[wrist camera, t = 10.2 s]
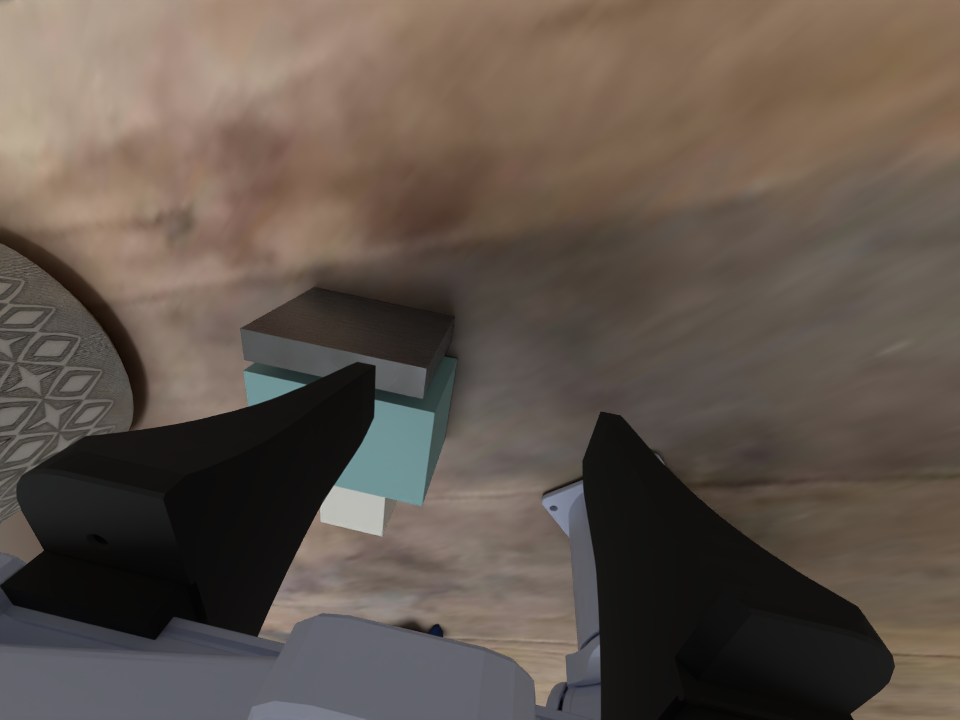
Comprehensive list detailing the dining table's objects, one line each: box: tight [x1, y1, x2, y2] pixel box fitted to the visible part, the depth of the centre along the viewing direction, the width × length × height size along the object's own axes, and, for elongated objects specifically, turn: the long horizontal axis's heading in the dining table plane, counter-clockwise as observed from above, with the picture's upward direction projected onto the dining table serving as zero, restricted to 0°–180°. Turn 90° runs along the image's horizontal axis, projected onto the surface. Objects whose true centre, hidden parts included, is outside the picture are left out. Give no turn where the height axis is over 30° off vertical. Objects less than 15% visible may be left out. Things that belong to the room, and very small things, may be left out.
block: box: [244, 356, 457, 506], centre depth 22 cm, size 6×9×5 cm, turn 80°
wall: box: [240, 287, 455, 399], centre depth 19 cm, size 2×8×6 cm, turn 80°
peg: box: [320, 486, 397, 536], centre depth 24 cm, size 10×4×4 cm, turn 170°
